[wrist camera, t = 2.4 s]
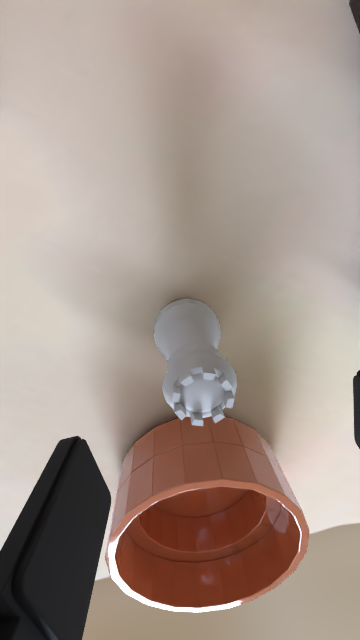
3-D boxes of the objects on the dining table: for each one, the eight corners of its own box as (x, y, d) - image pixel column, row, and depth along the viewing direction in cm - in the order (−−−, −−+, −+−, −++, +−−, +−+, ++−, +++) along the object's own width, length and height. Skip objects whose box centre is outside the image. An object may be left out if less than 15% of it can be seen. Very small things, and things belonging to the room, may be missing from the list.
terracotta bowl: (94, 496, 22) (71, 586, 17) (171, 383, 19) (174, 448, 13) (217, 538, 25) (232, 626, 19) (301, 447, 22) (350, 522, 16)
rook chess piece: (228, 309, 17) (278, 369, 10) (203, 364, 18) (230, 454, 11) (166, 287, 16) (169, 333, 9) (145, 345, 18) (131, 430, 10)
